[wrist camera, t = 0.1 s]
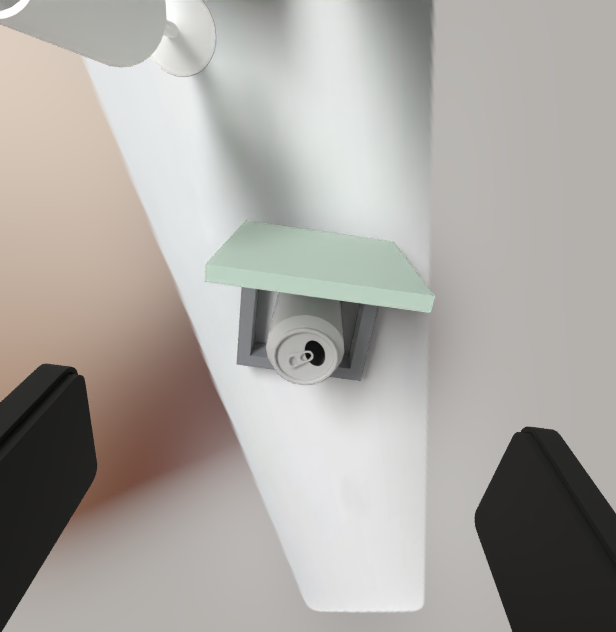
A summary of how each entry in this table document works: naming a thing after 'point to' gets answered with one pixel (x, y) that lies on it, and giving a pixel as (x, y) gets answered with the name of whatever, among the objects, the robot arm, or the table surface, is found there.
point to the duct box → (257, 352)
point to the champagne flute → (121, 30)
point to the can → (305, 338)
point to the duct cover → (319, 266)
